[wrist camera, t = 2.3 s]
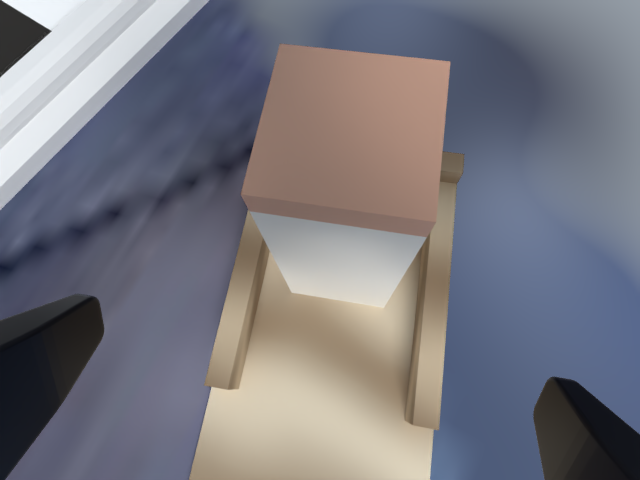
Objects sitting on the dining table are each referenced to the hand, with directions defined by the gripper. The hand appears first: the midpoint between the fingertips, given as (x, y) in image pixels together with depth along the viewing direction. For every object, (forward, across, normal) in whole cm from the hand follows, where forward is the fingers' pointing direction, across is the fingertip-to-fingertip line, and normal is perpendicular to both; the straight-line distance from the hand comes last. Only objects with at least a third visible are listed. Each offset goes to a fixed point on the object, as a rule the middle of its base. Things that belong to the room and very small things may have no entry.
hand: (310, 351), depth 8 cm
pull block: (+12, 0, +4) cm, 12 cm away
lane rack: (+9, 0, +8) cm, 12 cm away
